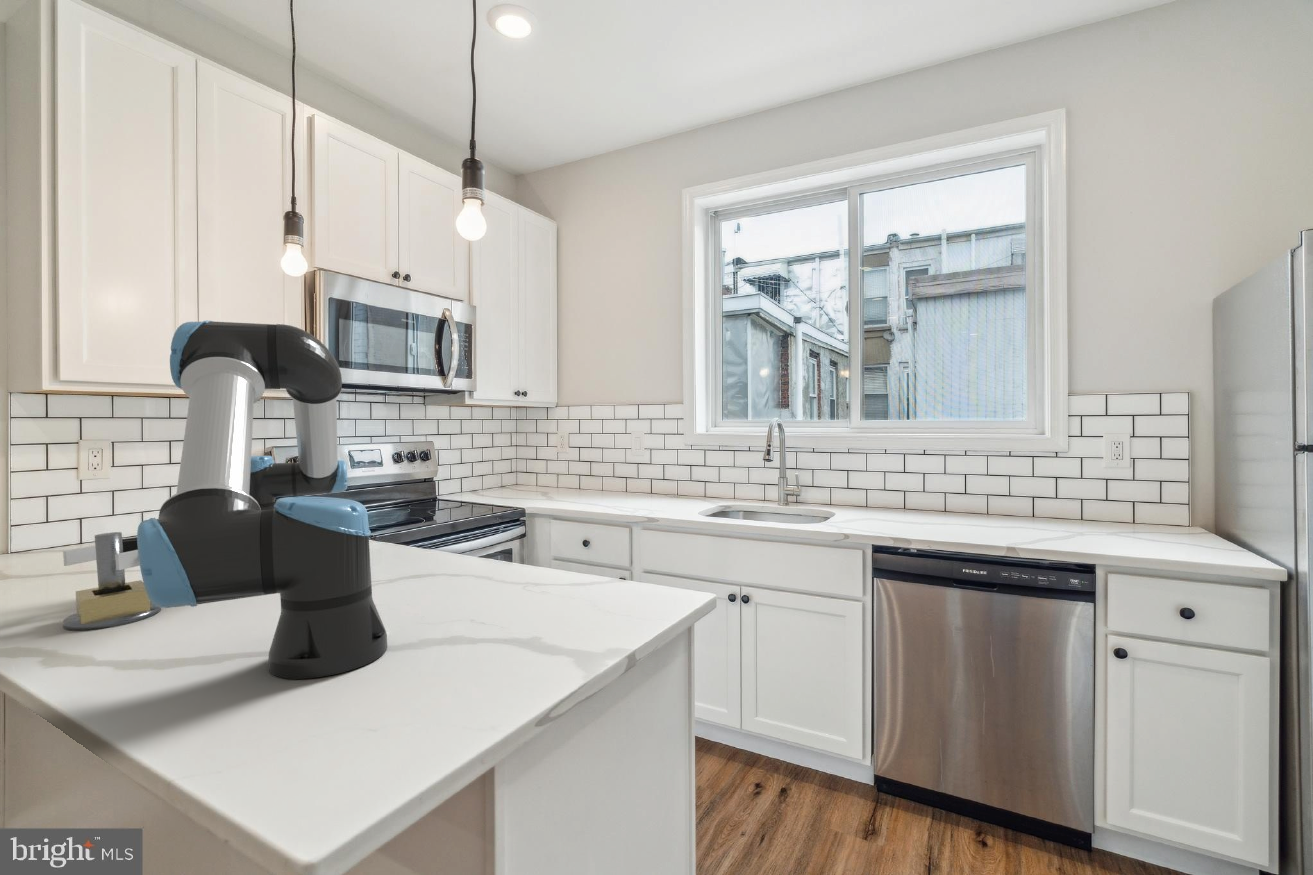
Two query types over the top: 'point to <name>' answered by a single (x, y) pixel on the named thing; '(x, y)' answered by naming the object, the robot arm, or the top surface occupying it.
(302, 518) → the robot arm
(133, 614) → the socket
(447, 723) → the top surface
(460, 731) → the top surface
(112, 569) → the pin
